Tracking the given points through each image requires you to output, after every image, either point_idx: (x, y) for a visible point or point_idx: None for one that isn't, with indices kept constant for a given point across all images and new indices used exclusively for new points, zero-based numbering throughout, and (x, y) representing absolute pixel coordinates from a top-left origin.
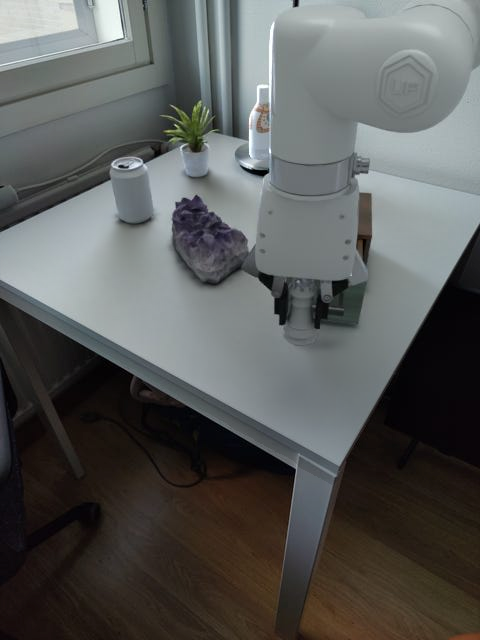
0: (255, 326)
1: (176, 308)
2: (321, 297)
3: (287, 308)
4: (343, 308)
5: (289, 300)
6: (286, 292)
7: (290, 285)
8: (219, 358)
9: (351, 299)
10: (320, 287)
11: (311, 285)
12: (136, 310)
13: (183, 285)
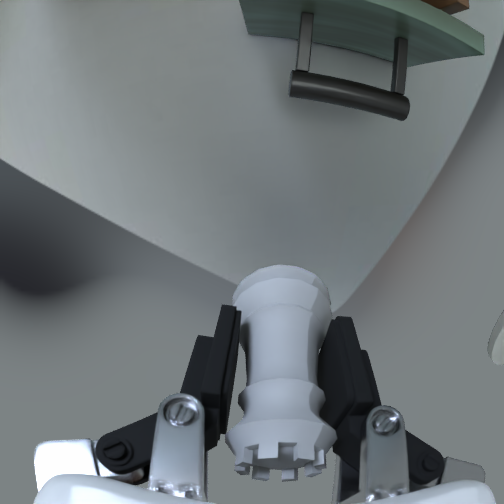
0: (188, 65)
1: (49, 66)
2: (336, 459)
3: (237, 344)
4: (407, 109)
5: (257, 21)
6: (222, 418)
7: (232, 447)
8: (135, 165)
9: (419, 50)
10: (333, 492)
11: (309, 475)
12: (9, 97)
13: (54, 11)
